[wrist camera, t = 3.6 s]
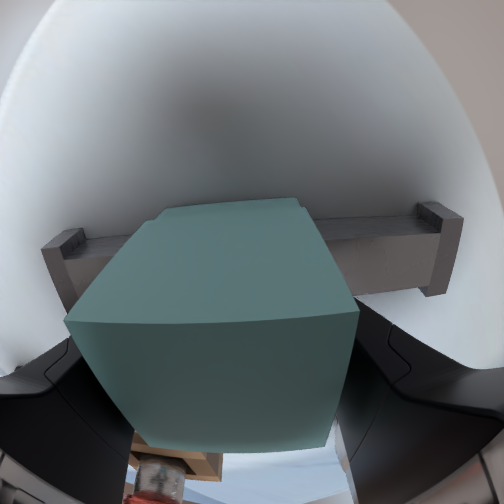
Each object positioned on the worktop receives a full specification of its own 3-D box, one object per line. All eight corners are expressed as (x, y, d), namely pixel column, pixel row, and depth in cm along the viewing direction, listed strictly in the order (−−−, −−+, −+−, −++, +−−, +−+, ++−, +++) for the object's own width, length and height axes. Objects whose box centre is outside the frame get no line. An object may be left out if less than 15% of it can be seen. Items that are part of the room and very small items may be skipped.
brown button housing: (150, 418, 18) (137, 471, 14) (119, 369, 15) (94, 432, 11) (225, 423, 18) (221, 481, 13) (209, 374, 15) (199, 448, 11)
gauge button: (151, 447, 15) (138, 514, 10) (131, 424, 13) (110, 500, 8) (201, 453, 15) (194, 524, 10) (187, 430, 13) (175, 516, 8)
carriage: (186, 307, 13) (149, 446, 6) (163, 202, 10) (63, 320, 4) (296, 301, 12) (324, 446, 6) (295, 190, 10) (359, 310, 4)
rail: (86, 294, 13) (69, 317, 11) (64, 230, 11) (40, 249, 9) (426, 271, 12) (445, 293, 10) (438, 202, 11) (463, 218, 9)
